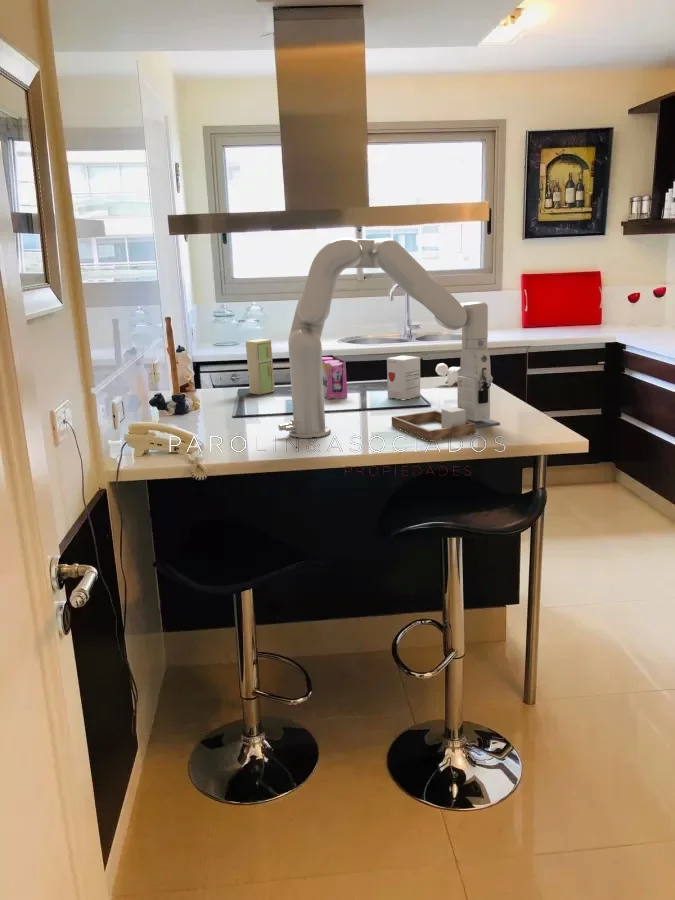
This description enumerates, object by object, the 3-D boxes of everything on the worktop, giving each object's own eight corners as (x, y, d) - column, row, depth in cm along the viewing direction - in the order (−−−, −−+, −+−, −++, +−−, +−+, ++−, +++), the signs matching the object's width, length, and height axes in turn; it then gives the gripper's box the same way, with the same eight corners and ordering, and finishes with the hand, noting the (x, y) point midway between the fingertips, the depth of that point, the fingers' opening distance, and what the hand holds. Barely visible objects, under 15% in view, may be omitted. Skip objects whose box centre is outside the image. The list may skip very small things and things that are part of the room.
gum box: (349, 398, 263) (347, 362, 259) (328, 400, 261) (326, 364, 258) (334, 387, 286) (332, 354, 282) (315, 389, 284) (313, 356, 280)
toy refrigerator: (260, 395, 277) (256, 342, 271) (249, 393, 282) (245, 340, 276) (276, 392, 282) (272, 339, 276) (265, 390, 287) (261, 338, 282)
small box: (490, 418, 214) (490, 376, 210) (474, 421, 211) (474, 378, 207) (472, 414, 221) (472, 373, 217) (456, 417, 217) (456, 376, 214)
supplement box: (386, 398, 260) (385, 358, 256) (403, 394, 266) (402, 354, 262) (404, 401, 253) (404, 359, 249) (421, 397, 259) (420, 356, 255)
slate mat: (469, 429, 209) (469, 427, 209) (449, 422, 219) (449, 420, 219) (499, 424, 214) (499, 422, 213) (478, 417, 223) (478, 415, 223)
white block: (450, 435, 203) (450, 412, 202) (441, 432, 208) (441, 409, 206) (465, 433, 205) (465, 409, 203) (455, 429, 210) (455, 406, 208)
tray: (428, 441, 198) (428, 431, 197) (391, 426, 217) (391, 416, 216) (476, 433, 204) (476, 423, 203) (436, 419, 223) (435, 410, 223)
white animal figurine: (464, 389, 286) (430, 377, 284) (472, 369, 284) (437, 357, 282) (468, 393, 278) (433, 381, 276) (476, 372, 276) (441, 360, 274)
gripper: (502, 345, 203) (501, 403, 208) (468, 340, 219) (468, 394, 223) (481, 348, 201) (480, 407, 205) (448, 342, 216) (448, 397, 221)
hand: (474, 400), depth 214 cm, fingers closed on small box, 8 cm apart
